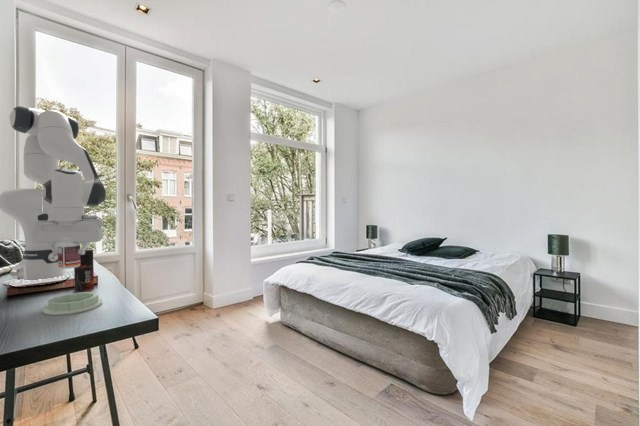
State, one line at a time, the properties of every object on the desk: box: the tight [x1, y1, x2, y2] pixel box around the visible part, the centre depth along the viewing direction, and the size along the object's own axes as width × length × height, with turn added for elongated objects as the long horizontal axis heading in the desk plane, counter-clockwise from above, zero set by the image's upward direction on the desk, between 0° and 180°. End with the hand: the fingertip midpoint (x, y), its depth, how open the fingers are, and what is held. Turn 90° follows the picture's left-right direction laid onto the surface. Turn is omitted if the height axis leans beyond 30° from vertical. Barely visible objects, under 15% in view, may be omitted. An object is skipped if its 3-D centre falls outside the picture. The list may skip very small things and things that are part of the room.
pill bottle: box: [58, 237, 81, 270], centre depth 111 cm, size 6×6×11 cm
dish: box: [42, 291, 103, 316], centre depth 101 cm, size 15×15×3 cm
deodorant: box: [73, 248, 95, 293], centre depth 122 cm, size 6×6×15 cm
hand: (69, 254), depth 111 cm, fingers closed on pill bottle, 6 cm apart
